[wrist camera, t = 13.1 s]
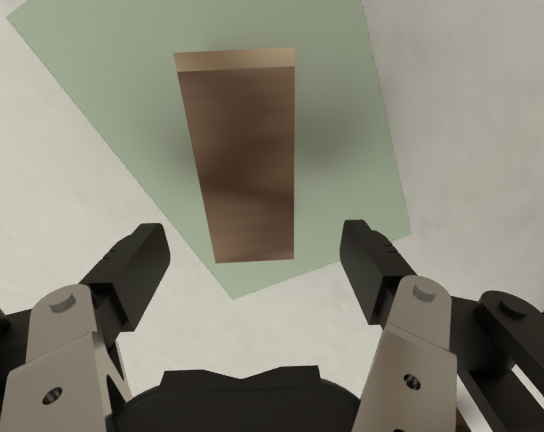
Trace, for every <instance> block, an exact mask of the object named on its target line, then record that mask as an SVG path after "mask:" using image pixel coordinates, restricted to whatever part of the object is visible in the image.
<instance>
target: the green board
mask: <svg viewBox="0 0 544 432" xmlns="http://www.w3.org/2000/svg"><path fill="white" fill-rule="evenodd" d="M6 18H7V19H8V21H9V22H10V23H11V24H12V26H13V27H14V28H15V29H16V31H17V32H18V33H19V34H20V36H21V37H22V38H23V39H24V41H25V42H26V43H27V44H28V46H29V47H30V48H31V49H32V50H33V52H34V53H35V54H36V55H37V57H38V58H39V59H40V60H41V62H42V63H43V64H44V65H45V67H46V68H47V69H48V70H49V72H50V73H51V74H52V75H53V77H54V78H55V79H56V80H57V82H58V83H59V84H60V85H61V87H62V88H63V89H64V90H65V92H66V93H67V94H68V95H69V97H70V98H71V99H72V100H73V102H74V103H75V104H76V105H77V107H78V108H79V109H80V110H81V112H82V113H83V114H84V115H85V117H86V118H87V119H88V120H89V122H90V123H91V124H92V125H93V127H94V128H95V129H96V130H97V131H98V133H99V134H100V135H101V136H102V138H103V139H104V140H105V141H106V143H107V144H108V145H109V146H110V148H111V149H112V150H113V151H114V153H115V154H116V155H117V156H118V158H119V159H120V160H121V161H122V163H123V164H124V165H125V166H126V168H127V169H128V170H129V171H130V173H131V174H132V175H133V176H134V178H135V179H136V180H137V181H138V183H139V184H140V185H141V186H142V188H143V189H144V190H145V191H146V193H147V194H148V195H149V196H150V198H151V199H152V200H153V201H154V203H155V204H156V205H157V206H158V207H159V209H160V210H161V211H162V212H163V214H164V215H165V216H166V217H167V219H168V220H169V221H170V222H171V224H172V225H173V226H174V227H175V229H176V230H177V231H178V232H179V234H180V235H181V236H182V237H183V239H184V240H185V241H186V242H187V244H188V245H189V246H190V247H191V249H192V250H193V251H194V252H195V254H196V255H197V256H198V257H199V259H200V260H201V261H202V262H203V264H204V265H205V266H206V267H207V269H208V270H209V271H210V272H211V274H212V275H213V276H214V277H215V279H216V280H217V281H218V282H219V284H220V285H221V286H222V287H223V288H224V290H225V291H226V292H227V293H228V295H229V296H230V297H231V298H232V300H234V299H237V298H239V297H242V296H245V295H247V294H250V293H253V292H255V291H258V290H261V289H264V288H266V287H269V286H272V285H274V284H277V283H280V282H282V281H285V280H288V279H291V278H293V277H296V276H299V275H301V274H304V273H307V272H309V271H312V270H315V269H318V268H320V267H323V266H326V265H328V264H331V263H334V262H336V261H339V260H340V253H339V250H340V243H341V237H342V231H343V225H344V222H345V220H358V219H363V220H365V222H366V223H367V224H368V226H369V227H370V228H371V230H376V231H378V232H379V233H381V234H383V235H384V236H386V237H387V238H388V240H389V241H393V240H396V239H398V238H401V237H404V236H407V235H409V234H411V229H410V225H409V220H408V216H407V211H406V206H405V202H404V197H403V192H402V188H401V183H400V179H399V174H398V169H397V165H396V160H395V155H394V151H393V146H392V142H391V137H390V132H389V128H388V123H387V118H386V114H385V109H384V105H383V100H382V95H381V91H380V86H379V81H378V77H377V72H376V68H375V63H374V58H373V54H372V49H371V44H370V40H369V35H368V31H367V26H366V21H365V17H364V12H363V7H362V3H361V0H27V1H26V2H25V3H24V4H22V5H21V6H20V7H18V8H17V9H16V10H14V11H13V12H12V13H11V14H9V15H8V16H7V17H6ZM287 47H295V130H294V259H291V260H272V261H253V262H235V263H215V258H214V253H213V248H212V243H211V238H210V233H209V228H208V223H207V218H206V213H205V208H204V203H203V198H202V193H201V189H200V184H199V179H198V174H197V169H196V164H195V159H194V154H193V149H192V144H191V139H190V134H189V129H188V124H187V119H186V114H185V109H184V104H183V100H182V95H181V90H180V85H179V80H178V75H177V70H176V65H175V60H174V55H173V53H179V52H201V51H222V50H244V49H265V48H287Z"/></svg>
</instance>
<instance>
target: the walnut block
mask: <svg viewBox="0 0 544 432" xmlns="http://www.w3.org/2000/svg"><path fill="white" fill-rule="evenodd" d="M173 55H174V60H175V65H176V70H177V75H178V80H179V85H180V90H181V95H182V100H183V104H184V109H185V114H186V119H187V124H188V129H189V134H190V139H191V144H192V149H193V154H194V159H195V164H196V169H197V174H198V179H199V184H200V189H201V193H202V198H203V203H204V208H205V213H206V218H207V223H208V228H209V233H210V238H211V243H212V248H213V253H214V258H215V263H235V262H253V261H272V260H291V259H294V130H295V47H287V48H265V49H244V50H222V51H201V52H179V53H173Z"/></svg>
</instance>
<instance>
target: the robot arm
mask: <svg viewBox="0 0 544 432" xmlns="http://www.w3.org/2000/svg"><path fill="white" fill-rule="evenodd" d="M339 253H340V260H341V263H342V265H343V268H344V270H345V272H346V275H347V277H348V279H349V281H350V284H351V286H352V288H353V290H354V293H355V295H356V297H357V300H358V302H359V304H360V306H361V309H362V311H363V313H364V315H365V318H366V320H367V322H368V325H381V327H382V329H383V332H382V335H381V338H380V341H379V344H378V347H377V350H376V353H375V356H374V359H373V362H372V365H371V368H370V371H369V374H368V377H367V380H366V383H365V386H364V389H363V392H362V395H361V398H360V399H359V398H357V397H356V396H355V395H354V394H352V393H351V392H349V391H348V390H347V389H345V388H343V387H341V386H340V385H338V384H336V383H333V382H331V381H328V380H325V379H322V378H320V373H319V368H318V365H315V366H288V367H279V368H275V369H272V370H269V371H266V372H263V373H260V374H257V375H254V376H250V377H247V378H244V379H238V378H234V377H230V376H226V375H222V374H218V373H214V372H210V371H207V370H177V371H165V372H164V375H163V377H162V380H161V383H160V385H158V386H155V387H153V388H151V389H149V390H146V391H144V392H143V393H141V394H139V395H137V396H135V397H134V398H133V397H132V394H131V391H130V388H129V385H128V381H127V377H126V373H125V369H124V365H123V361H122V357H121V353H120V349H119V345H118V342H117V340H116V338H117V337H118V335H119V333H120V332H134V331H135V329H136V327H137V325H138V323H139V321H140V319H141V318H142V316H143V314H144V312H145V310H146V308H147V306H148V304H149V302H150V301H151V299H152V297H153V295H154V293H155V291H156V289H157V287H158V285H159V283H160V282H161V280H162V278H163V276H164V274H165V272H166V270H167V268H168V266H169V264H170V250H169V246H168V243H167V239H166V235H165V231H164V228H163V226H162V224H160V223H143V224H140V225H139V226H138V227H137V229H136V230H135V231H134V232H133V233H132V234H131V235H128V236H126V237H125V238H123V239H122V240H120V241H118V242H117V243H116V244H115V245H114V246H113V247H112V248H111V249H110V250H109V252H108V253H107V254H106V255H105V256H104V257H103V259H101V260H100V261H99V262H98V263H97V264H96V265H95V266H94V267H93V269H92V270H91V271H90V272H89V273H88V274H87V275H86V276H85V277H84V278H83V279H82V280H81V281H80V282H79V283H78V284H74V285H69V286H65V287H62V288H60V289H57V290H55V291H53V292H51V293H50V294H48V295H46V296H45V297H43V298H42V299H41V300H40V301H39V302H38V303H37V304H36V305H35V306H34V307H33V309H29V310H25V311H21V312H17V313H13V314H9V315H5V314H4V313H3V311H2V310H1V309H0V432H455V427H456V387H457V374H458V376H459V377H460V379H461V380H462V382H463V384H464V385H465V387H466V389H467V390H468V392H469V393H470V395H471V397H472V398H473V400H474V402H475V403H476V405H477V406H478V408H479V410H480V411H481V413H482V415H483V416H484V418H485V419H486V421H487V423H488V424H489V426H490V428H491V429H492V431H493V432H544V409H543V408H542V407H541V406H540V404H539V403H538V402H537V401H536V399H535V398H534V397H533V396H532V394H531V393H530V392H529V391H528V390H527V388H526V387H525V386H524V385H523V383H522V382H521V381H520V380H519V379H518V377H517V376H516V375H515V374H514V372H513V371H512V370H511V369H512V368H513V367H514V366H515V364H517V365H518V367H519V368H520V369H521V370H522V371H523V373H524V374H525V375H526V376H527V377H528V378H529V380H530V381H531V382H532V383H533V384H534V386H535V387H536V388H537V389H538V390H539V391H540V393H541V394H542V395H543V397H544V315H543V314H542V313H541V312H540V311H539V310H538V309H536V308H535V307H534V306H532V305H531V304H529V303H528V302H526V301H524V300H522V299H520V298H518V297H516V296H514V295H511V294H508V293H505V292H500V291H486V292H484V293H483V294H482V296H481V297H480V299H479V301H478V302H477V301H473V300H468V299H463V298H458V297H453V296H450V294H449V293H448V292H447V290H446V289H445V288H444V287H442V286H441V285H440V284H438V283H437V282H435V281H433V280H431V279H429V278H426V277H422V276H418V275H417V274H416V273H415V272H414V270H413V269H412V268H411V267H410V266H409V264H408V263H407V262H406V261H405V259H404V258H403V257H402V256H401V254H400V253H398V251H397V250H396V248H395V247H394V246H392V243H391V242H390V241H389V240H388V238H387V237H386V236H384V235H383V234H381V233H379V232H378V231H376V230H371V228H370V227H369V226H368V224H367V223H366V222H365V220H363V219H358V220H345V222H344V225H343V231H342V237H341V243H340V250H339Z"/></svg>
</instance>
